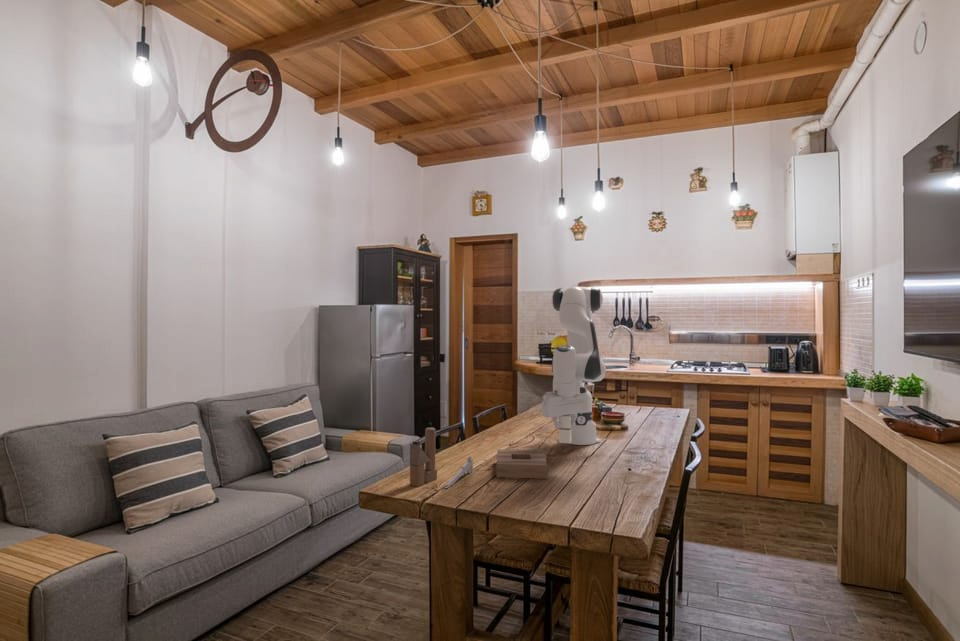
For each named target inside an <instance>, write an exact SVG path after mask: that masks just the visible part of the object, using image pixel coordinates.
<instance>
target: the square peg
mask: <svg viewBox="0 0 960 641" xmlns="http://www.w3.org/2000/svg"><path fill="white" fill-rule="evenodd" d="M558 421H559V423H561V428H558V440H559V441H558V443H559V444H569V443H571V414H569V415H563V416H559V419H558Z"/></svg>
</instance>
